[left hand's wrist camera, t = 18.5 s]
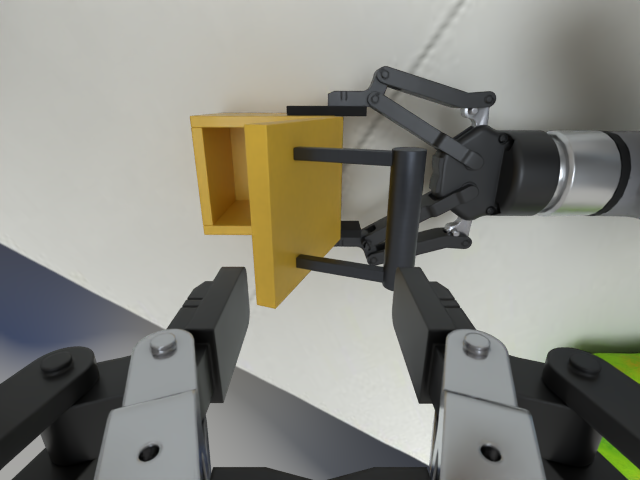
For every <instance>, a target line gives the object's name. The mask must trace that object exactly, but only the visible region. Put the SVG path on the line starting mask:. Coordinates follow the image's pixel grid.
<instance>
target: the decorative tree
mask: <svg viewBox="0 0 640 480" xmlns="http://www.w3.org/2000/svg"><path fill="white" fill-rule="evenodd" d="M593 355H596V356H598V357H600V358H602V359H603V360H605V361H607V362H608V363H610V364H611V365H613V366H614V367H616V368H617V369H618V370H620V371H621V372H623V373H624V374H626V375H627V376H629V377H630V378H632V379H633V380H635V381H636V382H637V383H639V384H640V353H637V354H624V353H595V354H593ZM597 451H598V452H600V453H601V454H602V455H603V456H604V457H605V458H606V459H607V460H608V461H609V462H610V463H611V464H612V465H613V466H614V467H615V468H616V469H618V470H619V471H620V472H621V473H622V474H623V475H624V476H625V477H626V478H627V479H628V480H640V470H639V469H638V468H637V467H636V466H635V465H634V464H633V463H631V462H630V461H629V460H628V459H627V458H626V457H625V456H624V455H623V454H621V453H620V452H619V451H618V450H617V449H616V448H615V447H614V446H612V445H611V444H610V443H609V442H608V441H607V440H606V439H605V438H604V437H602V439H601V442H600V444H599V447H598V450H597Z"/></svg>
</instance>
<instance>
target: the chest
mask: <svg viewBox="0 0 640 480" xmlns="http://www.w3.org/2000/svg"><path fill="white" fill-rule="evenodd" d="M318 117H335V116H287V113H217V114H207V115H196V116H190V121H191V127H192V128H191V130H192V138H193V146H194V154H195V163H196V171H197V179H198V187H199V195H200V203H201V211H202V219H203V225H204V226H203V227H204V234H205V235H252V229H251V215H250V201H249V187H248V173H247V159H246V145H245V131H244V124H252V123H263V122H274V121H285V120H296V119H307V118H318Z"/></svg>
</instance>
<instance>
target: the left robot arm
mask: <svg viewBox="0 0 640 480" xmlns="http://www.w3.org/2000/svg"><path fill="white" fill-rule="evenodd" d="M249 315H250V309H249V296H248V284H247V273H246V269H245V267H222V268H221V269H220V271H219V272H218V274H217V276H216V277H215V279H214V281H205V282H204V283H202V284H201V285H199V286H198V287H196V288H195V289H193V291H192V292H191V294H190V295H189V297H188V300H186V301H185V303H184V304H183V307H182V308H181V309H180V310H179V312H178V313H177V314H176V316H175V317H174V319H173V320H172V322H171V323H170V325H169V326H168V328H167V329H166V330H162V331H158V332H155V333H153V334H150V335H148V336H146V337H145V338H143V339H142V340H141V341H139V342H138V343H137V344H136V345H135V347H134V348H133V351H132V355H131V356H127V357H123V358H118V359H113V360H108V361H103V362H98V363H96V359H95V356H94V353H93V351H92V350H91V349H89V348H86V347H79V346H78V347H67V348H63V349H59V350H56V351H53V352H50V353H48V354H46V355H44V356H42V357H40V358H38V359H36V360H35V361H33V362H32V363H30V364H29V365H27V366H26V367H24V368H23V369H22V370H20V371H19V372H17V373H16V374H14V375H13V376H11V377H10V378H8V379H7V380H6V381H4V382H3V383H1V384H0V470H1V469H2V468H3V467H4V466H5V465H6V464H7V463H9V462H10V461H11V460H12V459H13V458H14V457H15V456H16V455H17V454H19V453H20V452H21V451H22V450H23V449H24V448H25V447H26V446H27V445H29V444H30V443H31V442H32V441H33V440H34V439H35V438H36V437H38V436H39V435H40V434H41V437H42V439H43V442H44V444H45V447H46V448H45V449H44V450H43V451H42V452H41V453H39V454H38V455H37V456H36V457H35V458H34V459H33V460H32V461H31V462H30V463H29V464H28V465H27V466H26V467H25V468H24V469H22V471H20V472H19V473H18V474H17V475H16V476H15V477H14V478H13V479H12V480H311V479H308V478H304V477H300V476H297V475H293V474H289V473H285V472H282V471H278V470H274V469H270V468H267V467H213V470H212V473H211V464H210V452H209V441H208V430H207V420H206V412H207V410H208V407H209V404H210V403H223V402H224V400H225V396H226V393H227V390H228V387H229V384H230V381H231V378H232V375H233V372H234V368H235V365H236V362H237V359H238V356H239V353H240V350H241V347H242V344H243V341H244V337H245V334H246V331H247V328H248V324H249ZM392 319H393V326H394V329H395V332H396V335H397V338H398V341H399V344H400V347H401V350H402V353H403V356H404V359H405V363H406V366H407V369H408V372H409V375H410V378H411V381H412V384H413V387H414V390H415V393H416V396H417V399H418V402H419V404H433V406H434V409H435V414H434V420H433V430H432V441H431V452H430V464H429V473H428V470H427V467H373V468H370V469H366V470H362V471H359V472H355V473H351V474H347V475H343V476H340V477H336V478H332V479H329V480H628V479H627V478H626V477H625V476H624V475H623V474H622V473H621V472H620V471H619V470H618V469H616V468H615V467H614V466H613V465H612V464H611V463H610V462H609V461H608V460H607V459H606V458H605V457H604V456H603V455H602V454H601V453H600V452H598V451H597V450H598V447H599V444H600V442H601V439H602V437H604V438H605V439H606V440H607V441H608V442H609V443H610V444H611V445H612V446H614V447H615V448H616V449H617V450H618V451H619V452H620V453H621V454H623V455H624V456H625V457H626V458H627V459H628V460H629V461H630V462H631V463H633V464H634V465H635V466H636V467H637V468H638V469H639V470H640V384H639V383H637V382H636V381H635V380H633V379H632V378H630V377H629V376H627V375H626V374H624V373H623V372H621V371H620V370H618V369H617V368H616V367H614V366H613V365H611V364H610V363H608V362H607V361H605V360H603V359H602V358H600V357H598V356H596V355H593V354H591V353H588V352H586V351H582V350H579V349H574V348H564V347H561V348H555V349H552V350H551V351H549V352H548V355H547V358H546V361H545V363H542V362H537V361H532V360H527V359H522V358H518V357H514V356H511V355H508V351H507V348H506V347H505V345H504V344H503V343H502V342H501V341H500V340H498V339H497V338H495V337H494V336H492V335H490V334H487V333H485V332H482V331H478V330H476V329H475V327H474V326H473V324H472V323H471V322H470V320H469V319H468V317H467V316H466V314H465V313H464V311H463V310H462V308H460V306H459V304H458V303H457V301H456V300H455V298H454V297H453V295H452V294H451V293H450V291H449V290H448V289H447V288H445V287H444V286H442V285H441V284H439V283H438V282H429V281H428V279H427V277H426V276H425V274H424V273H423V271H422V269H421V268H420V267H397V269H396V272H395V282H394V294H393V306H392Z"/></svg>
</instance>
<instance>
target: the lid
mask: <svg viewBox="0 0 640 480" xmlns="http://www.w3.org/2000/svg"><path fill="white" fill-rule="evenodd" d="M244 131H245V145H246V159H247V173H248V187H249V201H250V215H251V229H252V242H253V256H254V270H255V284H256V298H257V305H261V306H265V307H270V308H274V309H276V308H277V307H278V305H279V304H280V303H281V302H282V301H283V300H284V299H285V298H286V297H287V296H288V295H289V294H290V293H291V292H292V290H293V289H294V288H295V287H296V286H297V285H298V284H299V283H300V282H301V281H302V280H303V279H304V278H305V276H306V275H307V274H308V273H309V272H310V271H311V270H312V271H318V272H324V273H330V274H336V275H341V276H347V277H353V278H359V279H365V280H370V281H376V282H382V284H383V286H384V287H385V288H386V289H388V290H391V291H394V282H395V272H396V269H397V267H414V265H415V256H416V247H417V237H418V228H419V219H420V210H421V200H422V191H423V182H424V173H425V163H426V154H427V150H426V149H423V148H415V147H398V148H393V149H392V151H389V150H367V149H346V148H343V117H318V118H307V119H296V120H285V121H274V122H263V123H252V124H244ZM342 163H348V164H364V165H381V166H391V171H390V185H389V199H388V212H387V226H386V240H385V253H384V267H380V266H374V265H367V264H361V263H355V262H348V261H342V260H336V259H329V258H323V257H324V256H325V255H326V254H327V253H328V252H329V251H330V250H331V249H332V247H333V246H334V245H335V244H336V243H337V242H338V241H339V240H340V232H341V190H342Z"/></svg>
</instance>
